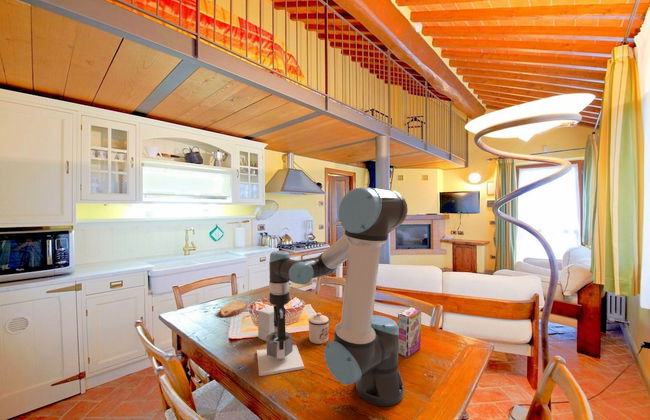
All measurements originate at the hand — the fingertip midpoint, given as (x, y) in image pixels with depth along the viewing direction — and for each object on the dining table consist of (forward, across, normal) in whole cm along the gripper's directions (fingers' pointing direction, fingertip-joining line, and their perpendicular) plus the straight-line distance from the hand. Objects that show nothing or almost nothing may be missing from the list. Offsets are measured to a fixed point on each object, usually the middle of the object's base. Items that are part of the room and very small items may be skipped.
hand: (279, 349), depth 106 cm
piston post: (+4, 0, 0) cm, 4 cm away
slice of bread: (+5, +58, +19) cm, 62 cm away
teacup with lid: (+4, +13, -20) cm, 24 cm away
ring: (0, 0, 0) cm, 0 cm away
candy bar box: (+4, -8, -52) cm, 53 cm away
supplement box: (+4, +20, +2) cm, 20 cm away
